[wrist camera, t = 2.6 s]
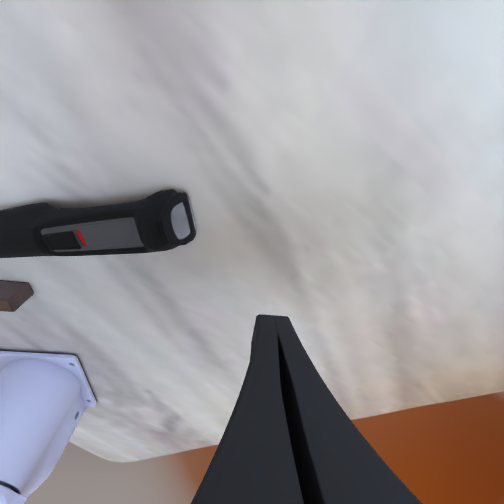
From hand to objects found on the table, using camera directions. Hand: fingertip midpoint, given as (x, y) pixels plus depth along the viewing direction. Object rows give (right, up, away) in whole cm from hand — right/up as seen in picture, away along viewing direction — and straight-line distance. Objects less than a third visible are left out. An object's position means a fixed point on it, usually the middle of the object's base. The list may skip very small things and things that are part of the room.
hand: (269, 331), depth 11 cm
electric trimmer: (-12, +5, +6) cm, 14 cm away
